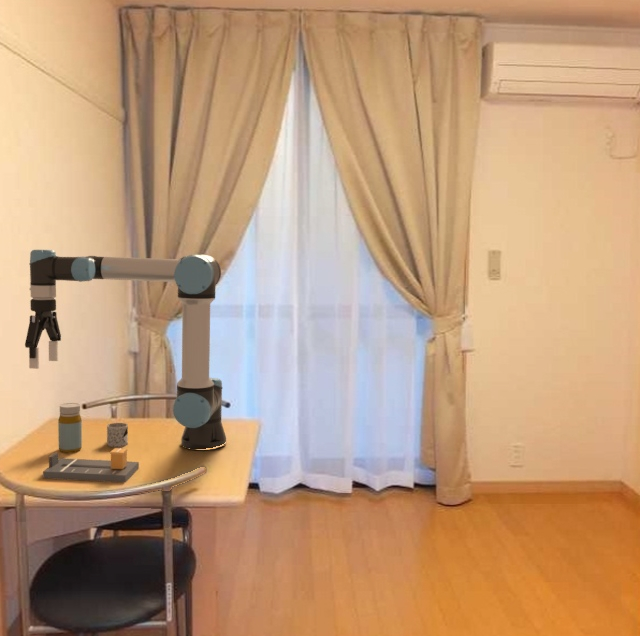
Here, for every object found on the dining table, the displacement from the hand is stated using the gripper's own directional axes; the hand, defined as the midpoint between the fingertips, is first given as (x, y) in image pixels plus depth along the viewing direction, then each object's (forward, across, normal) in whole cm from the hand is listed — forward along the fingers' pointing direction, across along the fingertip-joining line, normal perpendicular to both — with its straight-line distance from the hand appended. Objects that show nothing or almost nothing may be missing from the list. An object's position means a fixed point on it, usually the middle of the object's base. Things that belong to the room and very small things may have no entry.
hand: (44, 364), depth 217 cm
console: (+28, +20, +23) cm, 41 cm away
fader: (+26, +20, +31) cm, 45 cm away
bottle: (+28, 0, +8) cm, 29 cm away
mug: (+28, -10, +20) cm, 36 cm away
